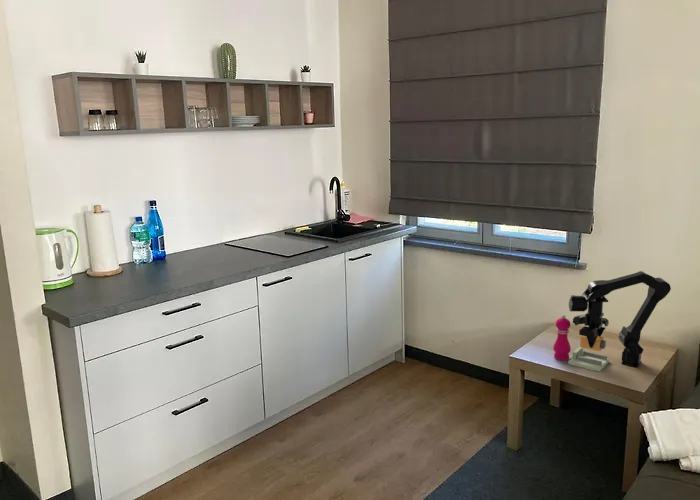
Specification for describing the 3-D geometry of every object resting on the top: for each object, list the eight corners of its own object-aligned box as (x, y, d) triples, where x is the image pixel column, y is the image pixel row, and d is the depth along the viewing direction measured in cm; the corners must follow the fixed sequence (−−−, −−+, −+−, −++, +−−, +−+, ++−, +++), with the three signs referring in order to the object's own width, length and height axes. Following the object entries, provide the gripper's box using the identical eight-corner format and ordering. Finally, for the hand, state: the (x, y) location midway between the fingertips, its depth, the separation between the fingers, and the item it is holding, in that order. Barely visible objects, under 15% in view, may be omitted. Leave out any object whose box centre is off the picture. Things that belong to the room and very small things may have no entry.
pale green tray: (608, 361, 252) (609, 352, 251) (599, 371, 243) (600, 361, 242) (578, 354, 260) (579, 345, 259) (568, 363, 252) (568, 354, 251)
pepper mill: (557, 353, 263) (559, 311, 259) (573, 357, 258) (575, 314, 253) (549, 358, 258) (551, 315, 254) (565, 362, 253) (567, 319, 249)
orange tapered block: (605, 348, 249) (606, 337, 248) (602, 352, 246) (602, 340, 245) (584, 343, 255) (584, 333, 254) (580, 347, 252) (580, 336, 251)
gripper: (583, 301, 259) (582, 334, 262) (567, 313, 245) (566, 348, 249) (609, 306, 251) (607, 340, 255) (594, 319, 238) (592, 354, 241)
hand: (593, 345), depth 250 cm, fingers closed on orange tapered block, 4 cm apart
